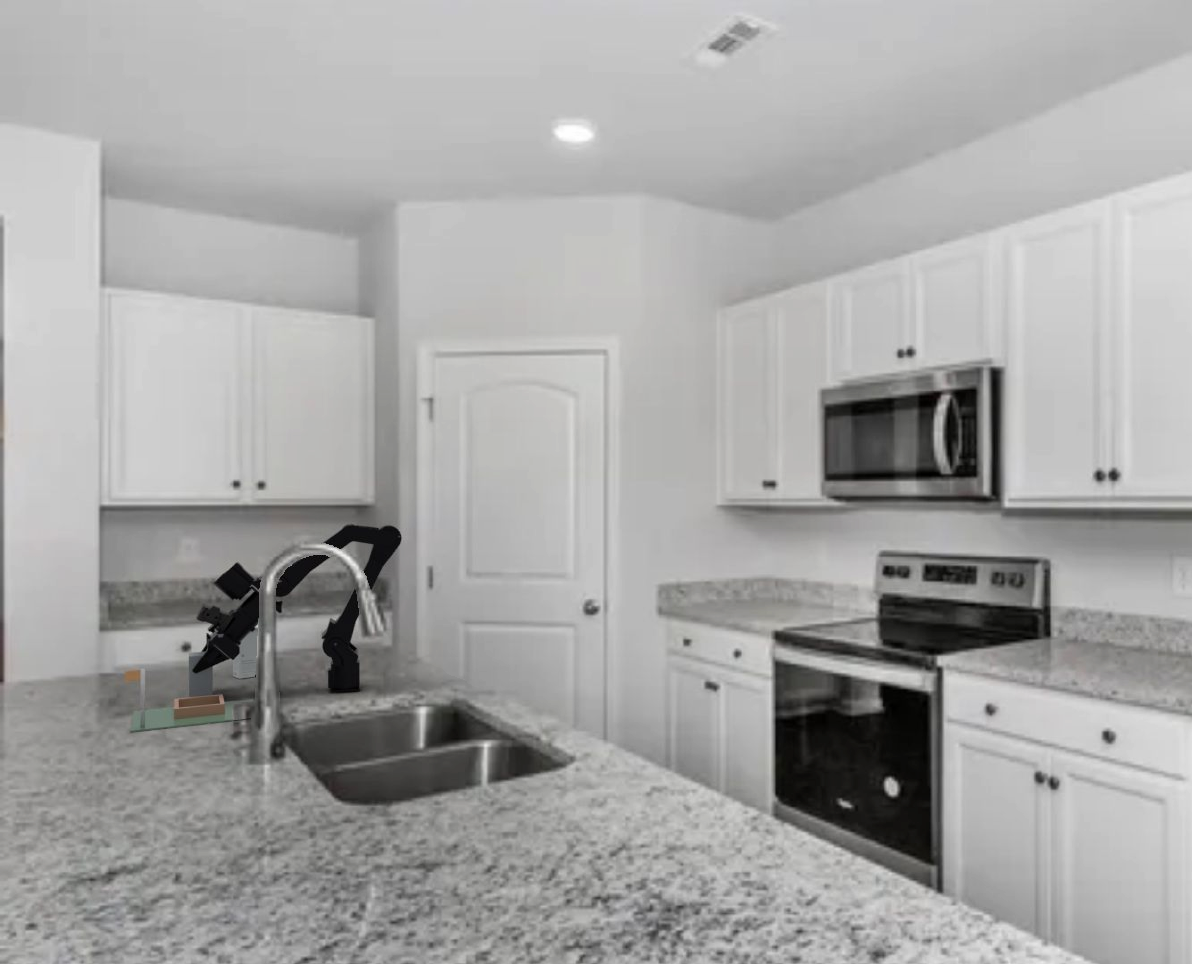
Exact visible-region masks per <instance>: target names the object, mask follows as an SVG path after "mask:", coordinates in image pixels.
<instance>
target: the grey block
mask: <svg viewBox="0 0 1192 964" xmlns="http://www.w3.org/2000/svg"><path fill="white" fill-rule="evenodd" d="M204 653H205V652H201V651H195V652H188V698H189V697H199V696H209V695H214V693H213V692H214V687H213V686H214V685H213V684H214V676H213V675H214V673H213V671H214V669H213V668H214V666H212V667H210V668H208V669H206V670H203V671H201V672H199V673H197V674H195V673H194V672H193V671H192V670H193V668H194V667H195V665H196V664H197V663H198V661H199V660H200V659H201V657H202V656H203V654H204Z"/></svg>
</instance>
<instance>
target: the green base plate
mask: <svg viewBox="0 0 1192 964" xmlns="http://www.w3.org/2000/svg"><path fill="white" fill-rule="evenodd" d="M138 681H139V682H140V684H139V685H140V687H139V688H140V693H139V694H140V697H139V698H140V701H139V702H140V705H139V707H140V710H134V711H133V714H132V719H131V720H132V721H131V725H130V733H135V732H137V733H138V732H146V731H154V730H155V731H156V730H163V729H164V728H166V729H173V728H172V727H175V728H179V727H178V726H184V727H191V726H201V724H202V725H207V724H208V723H211V724H218V723H217V722H220V723H225V722H224V721H229V722H233V721H232V720H233V718H232V717H233V715H232V709H233V706H234V704H235V703H239V702H251V701H253V699H254V698H251V699H242V700H241V699H240V700H231V701H225V699H224V696H223V694H222V693H220V694H213V695H209V696H199V697H189V696H188V697H180V698H179V697H178V698H174V700H173V706H171V707H170V706H169V707H163V708H151V709H146V669H145V668H140V669H135V670H125V671H124V683H125V682H126V683H127V682H128V683H129V682H138ZM208 725H209V724H208ZM164 730H165V729H164Z"/></svg>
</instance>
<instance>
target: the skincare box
mask: <svg viewBox="0 0 1192 964" xmlns="http://www.w3.org/2000/svg"><path fill="white" fill-rule="evenodd" d="M258 625H259V624H258ZM258 625H257V626H256V627H255V628H256V629H255V630H254V631H253V632H250V633H249V634H248V635H247V636H246V637H245V638H244V639H243V640H242V641H241V644H240V645H239V647H240V654H239V655H238V656H237V657H236V658H235V659H234V660H232V676H233V677H234V678H236V679H238V680H240V679H247V678H254V677H255V671H256V656H257V636H258ZM255 678H256V677H255Z"/></svg>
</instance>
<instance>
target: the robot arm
mask: <svg viewBox="0 0 1192 964" xmlns="http://www.w3.org/2000/svg"><path fill="white" fill-rule="evenodd" d="M402 538H403V537H402V534H401V532H400V530H399V529H398V528H397V527H396V526H395V525H392V524H384V525H382V526H380V527H374V526H367V525H357V524H355V523H347V524H345V525H343V526H342V528H341V529H340V530H338V531H337V532H335V533H334V534H333V535H331V536H330V537H328V538H327V539H326V540H324V541H323V542H322V543H326V544H329V545H333V546H334V547H337V548H339V549H341V550H342V549H345V547H346V546H348V545H349V544H351V543H352V542H355V543H362V544H368V545H371V548H370V552H369V555H368V559H367V561H366V562H365V563H366V564H365V565H364V566H363V569H362V571H364V573H365V575H366V576H367V580H368V583H369V586H370V589H371V591H372V590H373V587H374V585H375V584H376V582H377V580H378V577H380V573H381V572H382V569H383V568H384V566H386V563H387V562H388V561H389V560H390V559H391V557H392V556H393V555H394V553H395V552H396V551H397V549H398V548H399V546H400V545H401V544H402ZM330 558H331V557H328V556H326V555H313V556H309V557H306V558H303V559H301V558H299V559H297V560H295V561H296V562H294V561H293V562H294V563H293V564H292V566H290V567H288V568H287V569H286V570H285V572H284V574H283V575H282V576H281V577H280V579H279V581H278V584H277V588H276V596H275V597H277V598H283V597H286V596H288V595H289V594H290V593H291V592H293V590H295V589H296V587H298V585H299V584H300V583H301V582H302V581H303V580H304V579H305V578H306V577H307V576H308V575H309V574H310V572H311V573H312V571H314V570H315V569H316V568H317V567H319V566H321V564H323V563H324V562H325V561H327V560H328V559H330ZM262 577H263V576H259V577H254V576H253V575H252V574H251V573H249V571H247V570H246V568H245V567H244V566H243V565H242V564H241V563H240V562H235V563H234V564H233V565H232V566H231V567H230V568H229V569H227V570H226V571H225V572H223V573H222V574H221V575H220V576H219V577H218V578H217V579H216V580H215V581H214V582H213V586H214V587H216V588H217V589H218V590H220V592H221V593H223V594H224V595H225V596H226V597H227V598H228V599H229V600H231V601H234V600H235V601H236V600H237V601H239V602H240V601H241V600H242V599H243V598H244V597H246V595H247V594H249V592H251V591H252V592H251V593H250V594H249V596H248V597H246V599H245V600H243V602H242V603H240V605H238V607H237V608H236V609H235V608H231V609H230V610H229V612H226V611H224V610H221V608H220V607H218V606H216V605H214V604H212V605H211V606H210V605H209V604H205V603H202V604H201V607H200V609H199V611H198V613H197V614H196V617H195V618H196V620H197V621H199V622H202V623H207V624H211V625H210V626H209V627H208V628H207V631H208V632H206V637H205V638H206V642H205V645H204V647H203V648H202V650H201V651H200V652H205V653H204V654H203V656H202V657H201V659H200V660H199V661H198V663H197V664H196V665H195V667H194V668H193V670H192V671H193V672H194V673H195V674H197V673H199V672H201V671H203V670H206V669H208V668H210V667H212V666H213V667H214V666H217V665H219V664H221V663H223V662H224V663H225V662H226V661H229V660H232V661H233V660H234V659H235V658H236V657H237V656H238V655H239V654H240V647H239V645H240V644H241V641H242V640H243V639H244V638H245V637H246V636H247V635H248V634H249V633H250V632H253V631H254V630H255V629H256V628H255V627H256V626H257V625H259V624H258V618H259V592H260V590H259V588H260V582H261V578H262ZM275 600H276V610H275V611H276V612H277V613H278V614H282V612H283V608H282V607H283V600H277V599H275ZM359 616H360V614H359V608H358V601H357V594H356V590H355V586H354V587H353V589H352V592H351V593H350V596H349V597H348V599H347V601H346V604H345V606H344V607H343V609H342V612H341V613H340V615H339V616H338V617H337V618H336V620H335V619H334V618H331V617H330V618H329V620H328V625H327V626H326V629H325V630H324V631H323V632H322V633H321V640H322V651H323V653H324V654H325V655H326V657H328V658H331V661H330V667H328V668H327V688H328V690H329V689H330V691H329V693H332V694H333V693H344V692H359V691H361V685H360V684H361V683H360V674H361V672H360V667H361V664H360V659H359V648H357V647H356V645H354V644H353V643H352V641H351V640H352V637H353V634H354V630H355V626H356V623H357V621H358V619H359ZM210 632H211V634H209V633H210Z"/></svg>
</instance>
